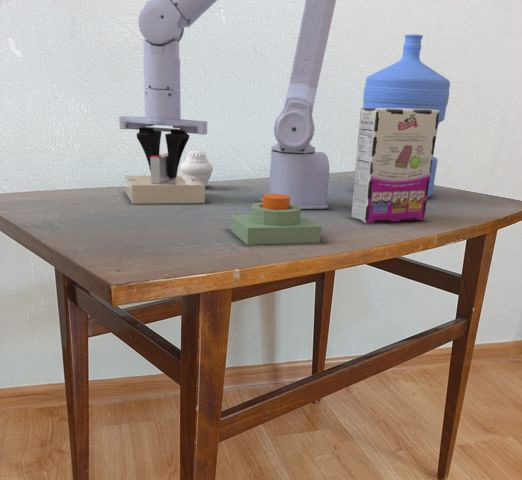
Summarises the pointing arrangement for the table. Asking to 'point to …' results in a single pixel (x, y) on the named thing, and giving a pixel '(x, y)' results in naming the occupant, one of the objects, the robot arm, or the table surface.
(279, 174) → the robot arm
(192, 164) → the muffin
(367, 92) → the water jug
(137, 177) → the base
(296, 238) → the switch
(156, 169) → the gray rectangular brick
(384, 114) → the candy bar box
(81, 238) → the table surface
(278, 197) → the button
